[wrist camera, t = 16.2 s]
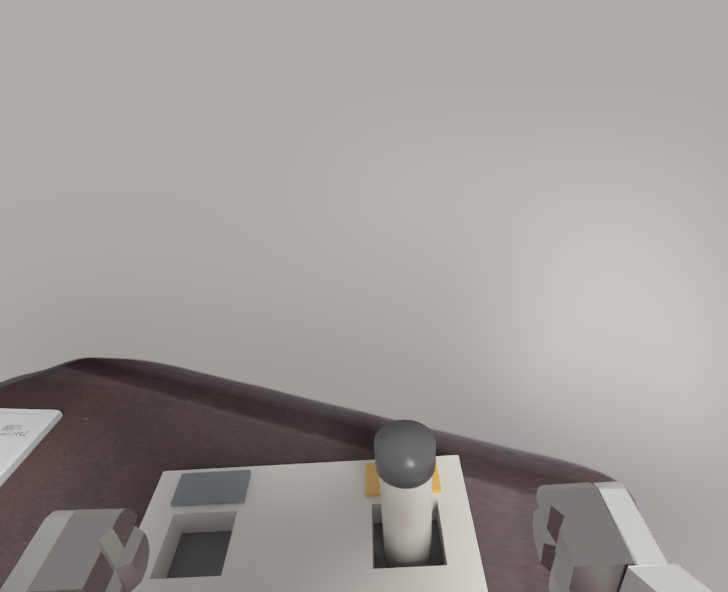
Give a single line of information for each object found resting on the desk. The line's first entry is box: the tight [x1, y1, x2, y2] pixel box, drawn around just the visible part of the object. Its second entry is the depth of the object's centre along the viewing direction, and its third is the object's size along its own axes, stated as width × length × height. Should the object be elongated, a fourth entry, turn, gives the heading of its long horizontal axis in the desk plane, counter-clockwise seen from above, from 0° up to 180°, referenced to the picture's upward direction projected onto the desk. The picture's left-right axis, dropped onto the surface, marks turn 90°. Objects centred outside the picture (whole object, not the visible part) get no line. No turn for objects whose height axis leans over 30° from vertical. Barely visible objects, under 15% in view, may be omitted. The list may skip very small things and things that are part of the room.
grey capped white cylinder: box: [374, 420, 436, 568], centre depth 34 cm, size 4×4×12 cm
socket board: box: [132, 455, 488, 592], centre depth 38 cm, size 26×12×3 cm, turn 90°
